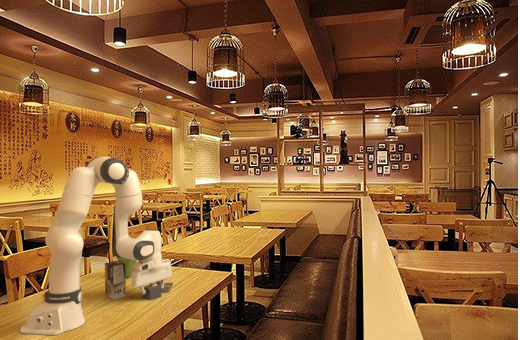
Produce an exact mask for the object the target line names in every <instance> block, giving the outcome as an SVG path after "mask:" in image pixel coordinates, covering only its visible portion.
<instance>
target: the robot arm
mask: <svg viewBox="0 0 520 340" xmlns="http://www.w3.org/2000/svg"><path fill="white" fill-rule="evenodd" d="M100 183H103V184H112V186H113V188H114V194H115V208H114V209H113V233H114V236H113V237H114V238H113V245H112V253H113V254H114V256H115V258H116V257H117V258H120V259H130V260H137V262H136V263H135V264H133V269H134V270H133V272H132V277H131V285H132V286H133V287H134V288H135V287H136V288H139V289H140V290H141V294H142V295H143V294H146V290H145V289H144V288H143V287H144V286H147V285H149V284H150V283H156V281H160V280H161V284H160V285H159V286H161V289H162V288H164V283H166V279H169V278H172V276H173V270H172V261H171V259H169V258H165V259H163V257H162V256H163V255H162V235H161V232H160V231H159V230H158V229H156V228H155V229H154V228H145V229H143V231H142V232H141V234H140V235H139V236H138V237H136V238H133V237H131V236H129V225H128V224H129V223H128V220H129V218H130V216H131V215H134V214H135V213H136V212H138V211H139V210H140V209H141V207H142V206H143V194H142V193H143V192H142V188H141V182H140V179H139V177H138V174H137V172H136V171H135V170H132V169H128V168H127V165H126V164H125V162H123V160H121V159H119V158H116V157H109V156H97V157H94V158H92V159H91V160H89V161H88V163H87V164H85V166H77V167H75V168H73V169H72V170H71V172H70V174H69V176H68V178H67V181H66V183H65V185H64V188H63V192H62V194H61V198H60V201H59V204H58V207H57V210H56V212H55V215H54V216H53V219H52V220H51V223H50V225H49V227H48V231H47V232H46V234H45V237H44V238H45V240H44V241H45V244H46V247H47V248H48V249H49V250H50V251H49V252H50V263H49V269H48V289H47V291H45V292H44V294H42V295H41V296H42V297H41V298H42V299H44V300H42V301H41V302H40V304H38V305H37V306H35V308H33V309H32V310H31V311H30V312H29V314H28V317H27V321H26V322H25V323H24V324H23V325H22V326H21V327H20V330H19V331H20V334H28V335H45V336H46V335H47V336H48V335H49V336H56V335H59V334H61V333H64V332H68V331H71V330H75V329H77V328H79V327H81V326H82V325H84V324H85V323H86V319H85V316H84V311H83V307H82V301H83V300H82V299H83V293H82V286H81V262H82V258H83V257H82V255H83V249H84V243H85V242H84V239H83V237H82V235H81V233H80V232H79V231H80V229H81V226H82V225H83V223H84V220H85V219H86V218H87V217H88V214H89V209H90V207H91V203H92V200H93V197H94V193H95V189H96V187H97V186H98V185H99V184H100ZM117 258H116V259H117Z"/></svg>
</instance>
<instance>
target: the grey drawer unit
mask: <svg viewBox="0 0 520 340" xmlns="http://www.w3.org/2000/svg"><path fill="white" fill-rule="evenodd" d="M143 288H144V289H145V290H146V294H142V298H143V299H146V300H148V301H152V300H156V299H159V298H161V297H162V293H161V286H159V285H157V284H151V285H149V284H146V285H144V287H143Z"/></svg>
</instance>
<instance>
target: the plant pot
mask: <svg viewBox="0 0 520 340" xmlns="http://www.w3.org/2000/svg"><path fill="white" fill-rule="evenodd" d="M115 258H116V259H117V261H119V262H122V263H125V279H127V278H132V272H133V270H134V269H133V264H135V263H137V262H138V261H137V260H130V259H120V258H117V257H116V256H115Z"/></svg>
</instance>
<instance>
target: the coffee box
mask: <svg viewBox="0 0 520 340" xmlns="http://www.w3.org/2000/svg"><path fill="white" fill-rule="evenodd" d="M126 279H127V278H125V263H122V262H119V261H118V260H114V261H109V262H105V263H104V282H105V283H104V287H105V288H104V289H105V291H104V292H105V293H104V294H105V297H107V298H109V299H111V300H113V301H115V300H118V299H123V298H126V296H127V292H126V288H127V287H126V283H127V282H126V281H127V280H126Z"/></svg>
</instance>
